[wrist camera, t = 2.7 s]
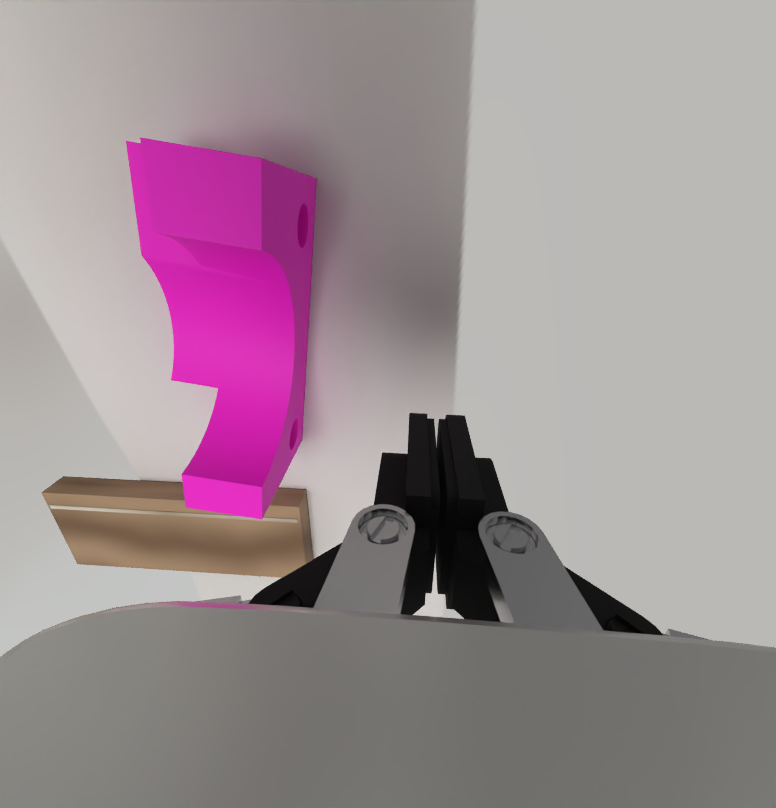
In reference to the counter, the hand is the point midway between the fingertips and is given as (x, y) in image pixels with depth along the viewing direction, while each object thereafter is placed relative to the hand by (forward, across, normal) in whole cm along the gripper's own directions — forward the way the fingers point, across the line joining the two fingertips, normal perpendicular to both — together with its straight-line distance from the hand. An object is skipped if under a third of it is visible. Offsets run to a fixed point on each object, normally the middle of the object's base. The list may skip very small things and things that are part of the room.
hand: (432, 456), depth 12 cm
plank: (+11, +17, +14) cm, 25 cm away
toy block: (+11, +10, -2) cm, 15 cm away
